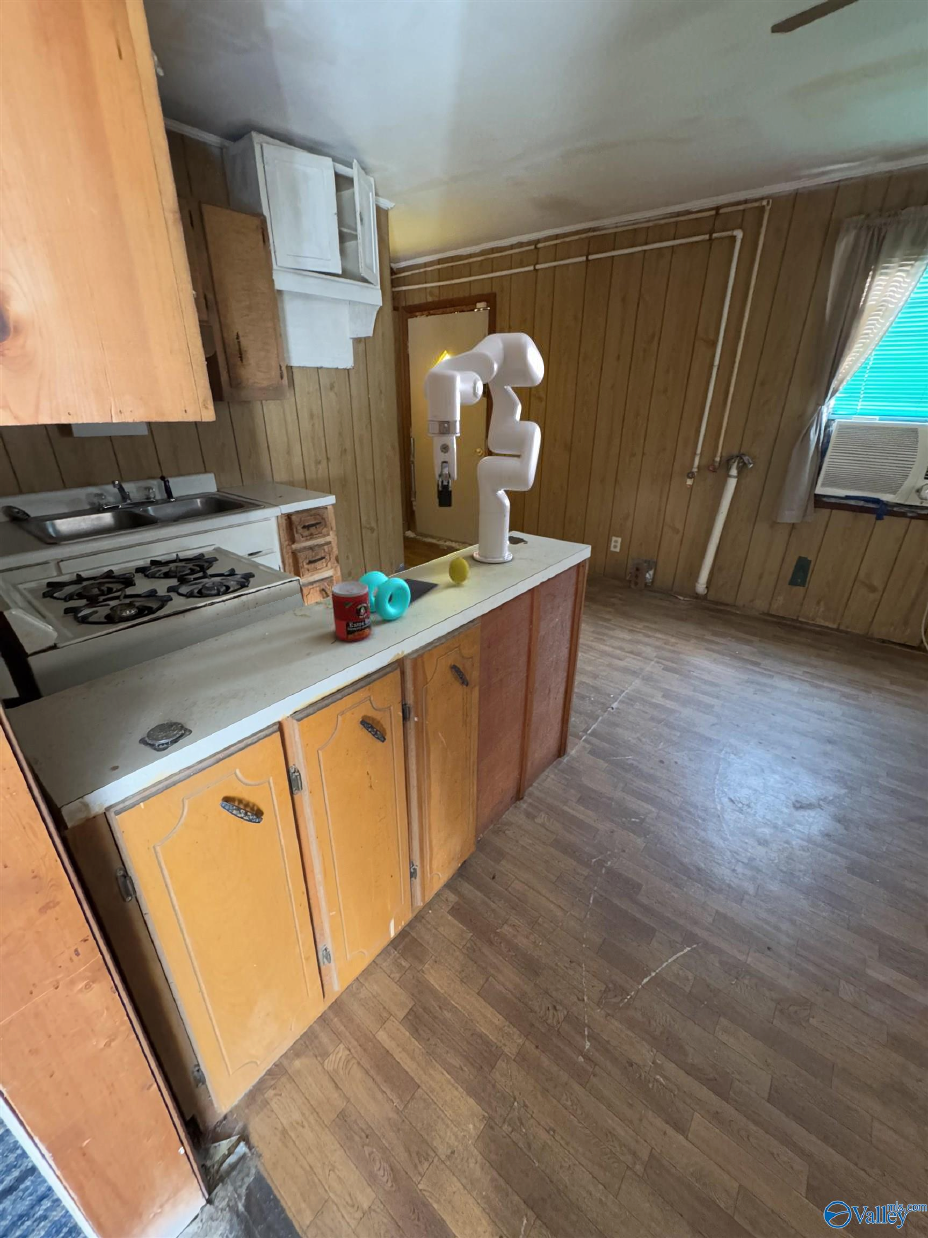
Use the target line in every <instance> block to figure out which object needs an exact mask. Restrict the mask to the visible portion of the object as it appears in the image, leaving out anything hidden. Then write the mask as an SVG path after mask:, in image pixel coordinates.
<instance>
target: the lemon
mask: <svg viewBox="0 0 928 1238" xmlns="http://www.w3.org/2000/svg"><path fill="white" fill-rule="evenodd" d="M469 573H470V569H469V563H468V562H467V561H466V560H465V559H463V558H462V557H460V556H457V557H456V558H453V560H452V561H450V563H449V567H448V576H449V578H450V580H451V581H452V582H453V583H455V584H457V585H458V586H459V585H461V584H462V583H464V582H465V581H467V579H468V577H469Z"/></svg>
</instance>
